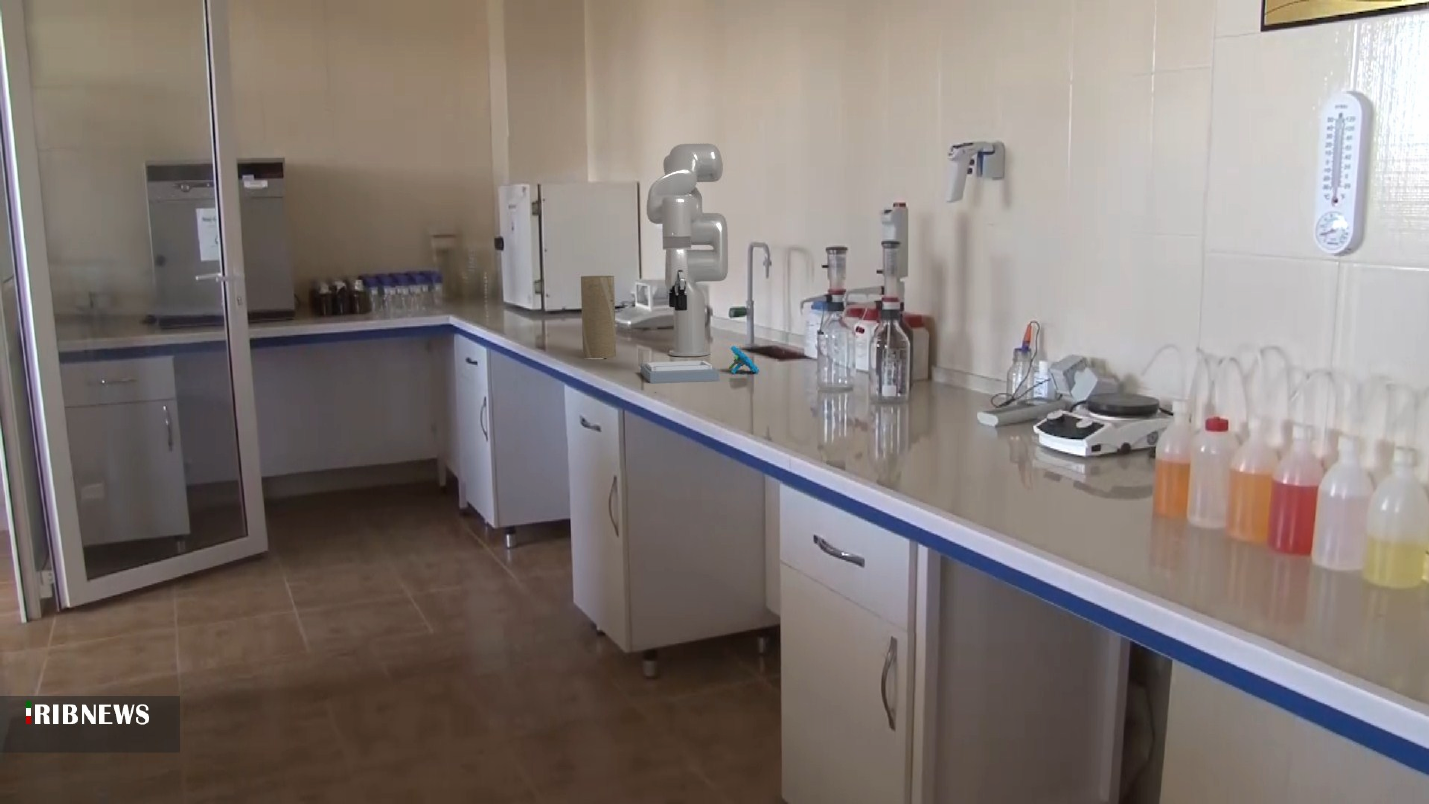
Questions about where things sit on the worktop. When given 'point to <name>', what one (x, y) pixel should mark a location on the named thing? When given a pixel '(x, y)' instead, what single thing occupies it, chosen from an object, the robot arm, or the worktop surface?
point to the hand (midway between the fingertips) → (678, 308)
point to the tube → (598, 316)
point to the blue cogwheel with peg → (741, 361)
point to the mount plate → (679, 371)
